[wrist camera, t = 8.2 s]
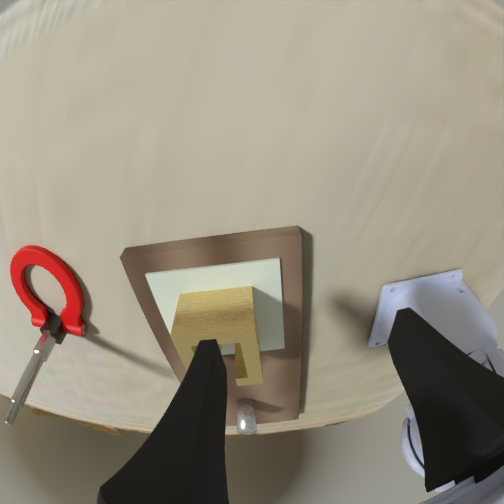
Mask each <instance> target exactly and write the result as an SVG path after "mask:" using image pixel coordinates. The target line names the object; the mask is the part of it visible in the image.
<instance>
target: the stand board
mask: <svg viewBox="0 0 504 504" xmlns="http://www.w3.org/2000/svg"><path fill="white" fill-rule="evenodd" d="M273 258H279V259H280V274H281V290H282V307H283V326H284V347H285V348H283V349H276V350H267V351H261V358H262V369H263V380H264V384H254V385H243V386H237V383H236V379H235V354H227V355H222V357H223V360H224V363H225V366H226V369H227V389H228V395H227V411H226V425H225V426H236V425H237V400H239V399H241V398H251V399H253V400H254V401H255V414H256V424H262V423H272V422H281V421H288V420H295V419H298V416H299V399H300V379H301V353H302V234H301V232H300V229H299V227H298V226H292V227H283V228H275V229H266V230H258V231H249V232H241V233H233V234H225V235H217V236H209V237H202V238H194V239H187V240H179V241H172V242H165V243H157V244H150V245H143V246H136V247H129V248H125V250H124V251H123V253H122V255H121V256H120V259H121V261H122V264H123V266H124V269H125V271H126V274H127V276H128V279H129V281H130V283H131V286H132V288H133V290H134V293H135V295H136V297H137V300H138V302H139V304H140V306H141V308H142V310H143V313H144V315H145V317H146V319H147V321H148V323H149V325H150V327H151V329H152V331H153V333H154V335H155V337H156V339H157V341H158V343H159V345H160V347H161V349H162V351H163V353H164V355H165V356H166V358H167V360H168V362H169V364H170V366H171V367H172V369H173V371H174V373H175V375H176V376H177V378H178V380H179V381H180V383H181V382H182V380H183V378H184V376H185V374H186V372H187V370H186V368H185V366H184V364H183V362H182V360H181V358H180V356H179V354H178V352H177V350H176V348H175V346H174V344H173V341H172V339H171V337H170V333H169V331H168V329H167V327H166V325H165V322H164V320H163V318H162V315H161V313H160V311H159V308H158V306H157V303H156V301H155V299H154V296H153V294H152V291H151V289H150V286H149V284H148V281H147V278H146V276H145V274H146V273H152V272H161V271H170V270H179V269H188V268H197V267H205V266H214V265H223V264H231V263H240V262H248V261H256V260H265V259H273Z"/></svg>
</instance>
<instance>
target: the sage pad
mask: <svg viewBox="0 0 504 504" xmlns="http://www.w3.org/2000/svg"><path fill="white" fill-rule="evenodd" d="M145 276H146V278H147V281H148V284H149V286H150V289H151V291H152V294H153V296H154V299H155V301H156V303H157V306H158V308H159V311H160V313H161V315H162V318H163V320H164V322H165V325H166V327H167V329H168V331H169V333H170V335H171V330H172V326H173V321H174V317H175V312H176V308H177V303H178V299H179V295H180V293H190V292H200V291H209V290H219V289H228V288H237V287H245V286H252V292H253V299H254V305H255V312H256V319H257V326H258V332H259V339H260V348H261V351H267V350H276V349H283V348H285V347H284V326H283V307H282V290H281V274H280V259H279V258H273V259H265V260H256V261H248V262H240V263H231V264H223V265H214V266H205V267H197V268H188V269H179V270H170V271H161V272H152V273H146V274H145ZM227 354H235V343H230V344H222V355H227Z"/></svg>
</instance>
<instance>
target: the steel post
mask: <svg viewBox="0 0 504 504" xmlns="http://www.w3.org/2000/svg"><path fill="white" fill-rule="evenodd" d="M237 432H238V433H239V434H243V435H249V434H254V433H256V432H257V429H256V414H255V401H254V400H253V399H251V398H241V399H239V400H237Z"/></svg>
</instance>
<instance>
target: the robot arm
mask: <svg viewBox="0 0 504 504" xmlns="http://www.w3.org/2000/svg"><path fill="white" fill-rule="evenodd" d="M462 276H463V271H462V270H461V269H457V270H452V271H448V272H443V273H439V274H434V275H429V276H425V277H420V278H415V279H410V280H405V281H400V282H394V283H389V284H385V285H384V286H383V287H382V289H381V294H380V298H379V303H378V307H377V311H376V315H375V319H374V323H373V327H372V331H371V334H370V338H369V341H368V346H369V347H370V348H373V347H377V346H381V345H385V344H386V345H387V347H388V349H389V352H390V354H391V357H392V360H393V363H394V366H395V368H396V370H397V372H398V375H399V377H400V379H401V382H402V384H403V386H404V388H405V391H406V393H407V395H408V398H409V400H410V402H411V403H410V404H409V405H408V406H406V407H405V409H406V412H407V414H408V417H407V418H406V419H405V420H404V422H403V425H402V431H401V446H402V451H403V454H404V456H405V459H406V461H407V462H408V464H409V465H410V467H411V468H412V469H413V470H414V471H415V472H417V473H419V474H420V475H422V476H423V477H424V478H425V487H426V491H427V492H430V491H432V490H434V489H435V491H437V492H442V493H440V494H438V495H436V496H434V497H432V498H430V499H428V500H426V501H424V502H421V503H419V504H504V352H503V350H502V349H496V348H497V343H498V335H497V329H496V325H495V323H494V320H493V318H492V317H491V315H490V314H489V313H488V311H487V310H486V309H485V307H484V306H483V305H482V304H481V302H480V301H479V300H478V299H477V297H476V296H475V295H474V294H473V293H472V291H471V290H470V289H469V288H468V287H467V285H466V284H465V283H464V282H463V281H462V280H461V279H462ZM392 288H393V289H392ZM227 395H228V389H227V369H226V366H225V363H224V360H223V357H222V354H221V351H220V348H219V345H218V342H217V339H209V340H200V341H199V343H198V345H197V348H196V351H195V353H194V356H193V358H192V361H191V363H190V365H189V367H188V370H187V372H186V374H185V376H184V378H183V380H182V382H181V384H180V387H179V389H178V390H177V392H176V394H175V396H174V398H173V400H172V401H171V403H170V405H169V407H168V408H167V410H166V412H165V413H164V415H163V417H162V418H161V420H160V421H159V423H158V424H157V426H156V427H155V429H154V430H153V431H152V433H151V434H150V436H149V437H148V438H147V439H146V441H145V442H144V443H143V445H142V446H141V447H140V448H139V449H138V451H137V452H136V453H135V454H134V455H133V456H132V457H131V458H130V459H129V461H127V463H126V464H125V465H124V466H123V467H122V468H121V469H120V470H119V471H118V472H117V473H115V474H114V475H113V476H112V477H111V478H110V479H109V480H108V481H106V482H105V483H104V484H103V485H102V486H101V487H100V490H99V493H98V498H97V504H229V500H228V491H227V480H226V467H225V451H224V446H225V425H226V411H227Z"/></svg>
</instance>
